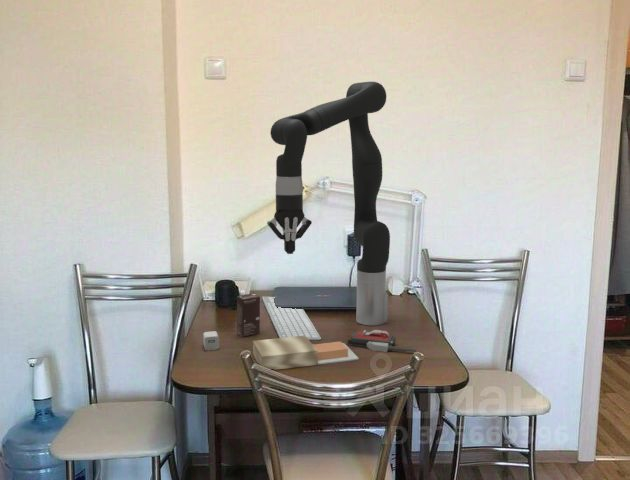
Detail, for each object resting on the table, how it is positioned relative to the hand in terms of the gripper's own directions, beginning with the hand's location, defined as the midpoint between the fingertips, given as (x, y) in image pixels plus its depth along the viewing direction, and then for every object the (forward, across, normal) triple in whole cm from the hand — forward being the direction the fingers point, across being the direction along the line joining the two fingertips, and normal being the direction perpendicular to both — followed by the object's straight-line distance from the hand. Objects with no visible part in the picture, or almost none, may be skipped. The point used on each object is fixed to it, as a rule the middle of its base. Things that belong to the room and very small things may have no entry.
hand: (289, 253), depth 170 cm
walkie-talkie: (+28, -25, +10) cm, 39 cm away
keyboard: (+28, -6, -23) cm, 36 cm away
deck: (+27, +4, +11) cm, 30 cm away
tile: (+27, -8, +12) cm, 30 cm away
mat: (+27, -9, +11) cm, 31 cm away
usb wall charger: (+27, +22, -6) cm, 36 cm away
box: (+27, +10, -12) cm, 31 cm away
